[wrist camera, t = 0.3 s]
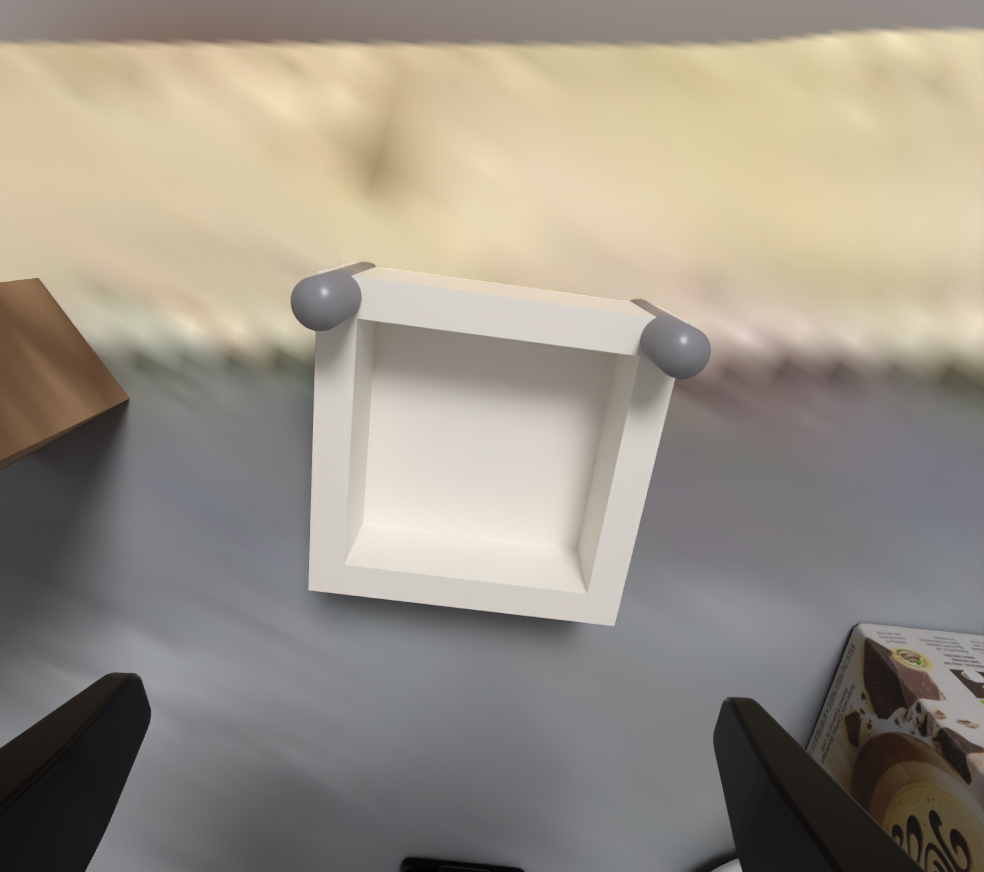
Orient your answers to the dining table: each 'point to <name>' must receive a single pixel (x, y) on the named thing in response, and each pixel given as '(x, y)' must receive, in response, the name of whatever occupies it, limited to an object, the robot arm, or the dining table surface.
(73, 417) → the brown block
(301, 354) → the dining table surface
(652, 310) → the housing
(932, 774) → the coffee box
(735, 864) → the flower in vase
